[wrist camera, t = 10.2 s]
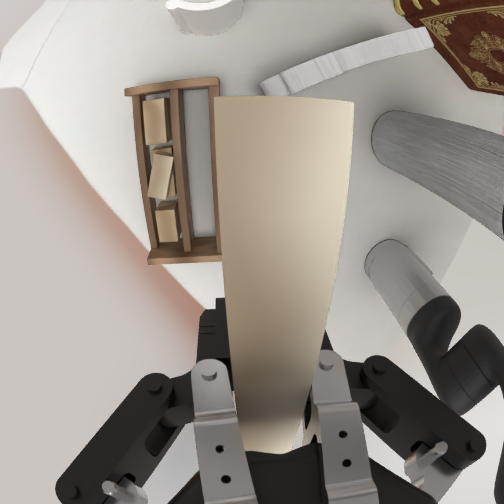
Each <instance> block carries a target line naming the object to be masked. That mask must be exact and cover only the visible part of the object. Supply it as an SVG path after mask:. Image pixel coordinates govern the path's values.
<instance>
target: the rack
mask: <svg viewBox="0 0 504 504" xmlns="http://www.w3.org/2000/svg"><path fill="white" fill-rule="evenodd" d="M207 88H209V118H210V143H211V164H212V182H213V198H214V214H215V228H216V237H198V238H194V232H193V223H192V214H191V203H190V193H189V181H188V169H187V156H186V141H185V124H184V102H183V90H194V89H207ZM124 90H125V96H132V101H133V117H134V130H135V141H136V151H137V160H138V168H139V176H140V184H141V191H142V198H143V204H144V210H145V216H146V222H147V228H148V233H149V239H150V244H151V251H150V253H149V256H148V258H147V261H148V265H155V264H177V263H198V262H218V261H222V252H221V237H220V222H219V205H218V188H217V168H216V145H215V118H214V97H220V81H219V77H209V78H196V79H186V80H176V81H168V82H161V83H154V84H148V85H142V86H136V87H131V88H126V89H124ZM166 92H170V106H171V124H172V139H173V153H174V165H175V176H176V186H177V195H178V204H179V213H180V221H181V229H182V237H183V238H180V239H179V240H178V241H176V242H160V240H159V234H158V227H157V220H156V213H155V210H156V203H155V198H153V197H147V196H148V189H149V183H150V176H151V163H150V153H149V145H146V139H145V128H144V114H143V101H146V99H145V96H146V95H152V94H159V93H166Z"/></svg>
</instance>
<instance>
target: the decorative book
mask: <svg viewBox="0 0 504 504" xmlns="http://www.w3.org/2000/svg"><path fill="white" fill-rule="evenodd" d="M394 4H395V9H396V11H397V13H399V14H400V15H401V16H405V17H406V20H407V21H408V22H409V23H410V24H411V25H413V26H414V27H415V28H420V27H426V29H427V31H428V33H429V35H430V38H431V40H432V42H433V44H434V47H435V49H436V50H437V51H438V52H439V53H440V54H441V55H442V56H443V57H444V59H445V60H446V61H447V62H448V63H449V64H450V66H451V67H452V68H453V69H454V70H455V72H456V73H457V74H458V75H459V76H460V78H461V79H462V80H463V81H464V83H465V84H466V85H467V86H468V87H469V88H470V89H472V90H476V91H481V92H486V93H492V94H498V95H503V96H504V0H394Z"/></svg>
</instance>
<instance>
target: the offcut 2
mask: <svg viewBox="0 0 504 504" xmlns="http://www.w3.org/2000/svg"><path fill="white" fill-rule="evenodd" d="M155 213H156V220H157V227H158V234H159V240H160V242H176V241H178V240H179V237H180V234H181V230H182V229H181V221H180V213H179V204H178V200H175V201H161V202H160V204H159V205H158V207H157V209H156V210H155Z"/></svg>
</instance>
